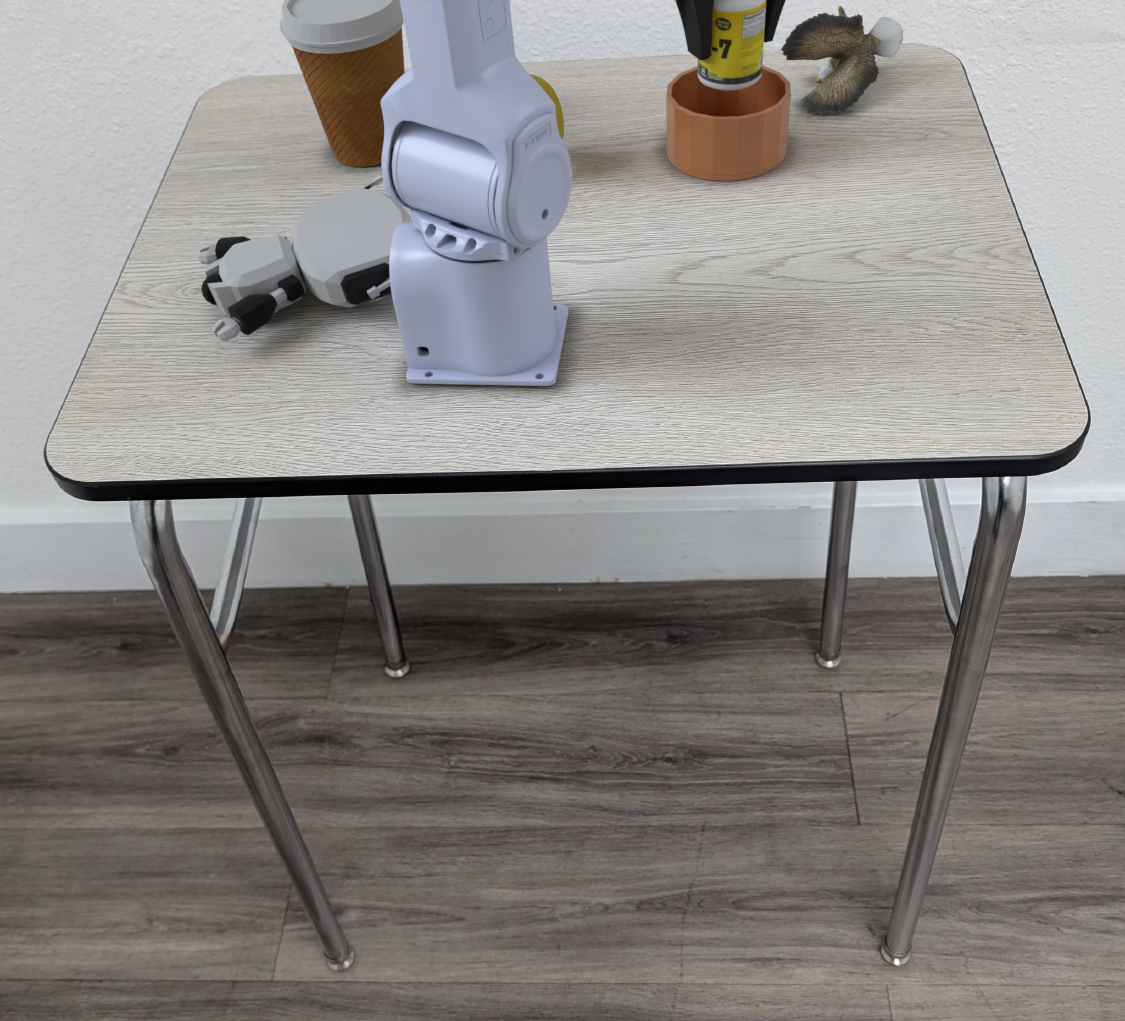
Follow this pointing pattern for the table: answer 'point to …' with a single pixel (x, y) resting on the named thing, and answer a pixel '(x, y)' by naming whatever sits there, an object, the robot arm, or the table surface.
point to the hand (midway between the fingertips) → (729, 46)
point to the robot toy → (305, 261)
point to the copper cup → (727, 126)
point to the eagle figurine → (841, 56)
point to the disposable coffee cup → (348, 68)
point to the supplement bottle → (735, 45)
